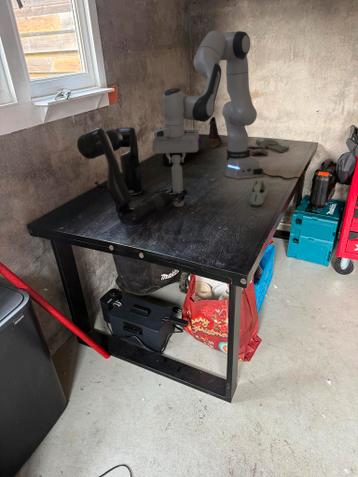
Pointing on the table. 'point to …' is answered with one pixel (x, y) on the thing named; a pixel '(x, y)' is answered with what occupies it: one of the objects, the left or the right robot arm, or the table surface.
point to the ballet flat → (258, 193)
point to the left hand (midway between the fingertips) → (181, 190)
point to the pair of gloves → (267, 144)
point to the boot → (214, 134)
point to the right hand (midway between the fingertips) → (176, 162)
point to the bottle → (177, 181)
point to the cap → (176, 159)
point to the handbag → (166, 160)
